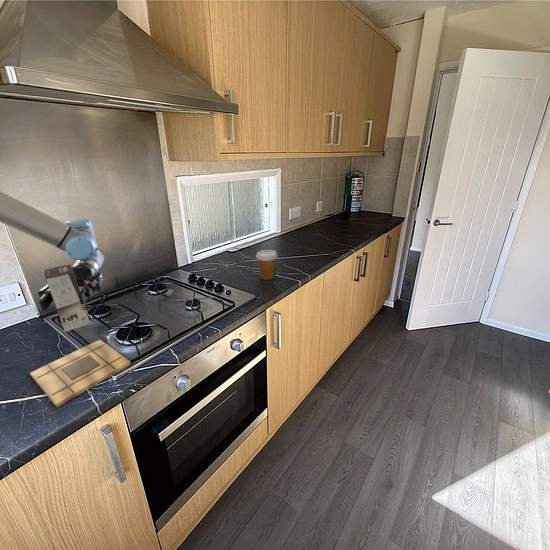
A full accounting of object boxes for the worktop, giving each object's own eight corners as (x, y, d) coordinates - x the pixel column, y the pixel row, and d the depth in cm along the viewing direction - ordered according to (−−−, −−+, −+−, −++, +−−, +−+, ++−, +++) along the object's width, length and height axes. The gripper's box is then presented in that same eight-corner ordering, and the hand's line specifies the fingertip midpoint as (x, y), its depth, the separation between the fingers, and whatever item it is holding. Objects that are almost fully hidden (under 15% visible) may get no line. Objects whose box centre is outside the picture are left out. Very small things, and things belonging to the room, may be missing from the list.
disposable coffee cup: (265, 272, 140) (264, 248, 135) (282, 276, 134) (281, 251, 130) (253, 279, 133) (251, 254, 128) (269, 283, 127) (268, 258, 123)
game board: (57, 409, 68) (55, 403, 67) (31, 377, 78) (29, 372, 77) (131, 365, 81) (130, 360, 80) (101, 343, 91) (99, 338, 90)
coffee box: (91, 324, 84) (74, 272, 78) (64, 332, 80) (45, 278, 74) (86, 312, 91) (70, 263, 85) (61, 319, 87) (43, 269, 81)
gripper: (120, 277, 102) (109, 307, 83) (50, 287, 96) (20, 322, 77) (115, 257, 99) (102, 283, 80) (42, 266, 93) (9, 297, 74)
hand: (62, 302), depth 78 cm, fingers closed on coffee box, 8 cm apart
